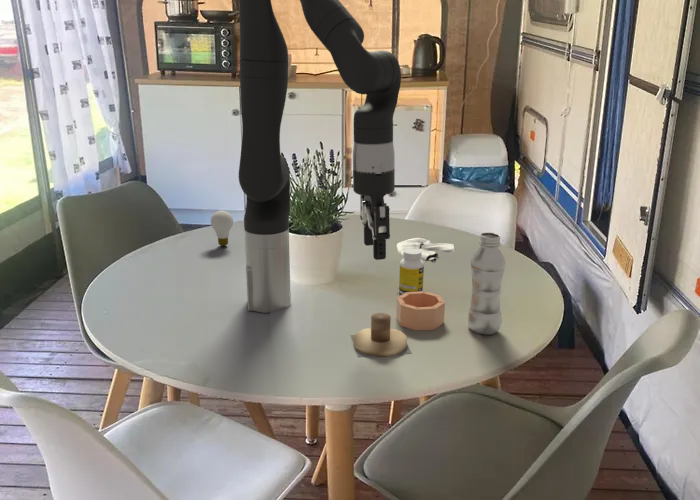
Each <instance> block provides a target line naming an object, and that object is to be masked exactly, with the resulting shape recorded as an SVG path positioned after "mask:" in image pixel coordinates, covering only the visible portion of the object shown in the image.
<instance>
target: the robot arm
mask: <svg viewBox="0 0 700 500" xmlns="http://www.w3.org/2000/svg"><path fill="white" fill-rule="evenodd" d="M299 2H300V5H301V9H302V12H303V16H304V18H305V22H306V23H307V25H308V27H309V29H310V30H311V32H312V33H313V34H314V35H315V36H316V38H317V39H318V40H319V41H320V43H321V44H322V45H323V46H324V47H325V49H326V50H327V51H328V53H330V56H331V57H332V61H333V63H334V65H335V67H336V68H337V71H338V73H339V75H340V77H341V80H342V81H343V82H344V84H345V85H346V86H347V87H348V88H349V89H350V90H351V91H353V92H354V93H356V94H359V95H366V96H365V100H364V101H365V102H364V104H363V105H362V106H361V107H359V108H358V109H357V110H356V111H355V112H354V115H353V149H352V179H353V180H352V186H353V192H354V193H355V194H357V195H360V196H359V197H360V199H359V200H360V208H359V209H360V215H359V216H360V217H359V218H360V220H361V223H362V224H361V225H362V226H363V243H364V245H365V246H372V253H373V254H372V255H373V259H374V260H375V261H377V260H378V261H379V260H386V258H387V245H386V244H387V240H389V239H390V237H391V233H390V231H391V230H390V207H389V205H387V202H385V199H384V198H385V196H387V195H391V194H392V193H394V191H395V188H396V187H395V182H396V181H395V175H396V174H395V172H396V171H395V170H396V169H395V165H396V163H395V159H396V157H395V147H394V113H395V110H396V107H397V103H398V98H399V94H400V91H401V90H400V89H401V83H402V71H401V66H400V63H399V61H398V58H397V57H396V56H395V54H393V53H392V52H390V51H389V50H388V51H387V50H373V51H368V50H367V49H366V48H365V47H364V46H363V42H364V39H365V33H364V30H363V28H362V26H361V25H360V23H359V22H358V21H357V20H356V18H355V17H353V15H352V14H351V13H350V11H348V9H347V8H346V7H345V5H344V4H343V3H342V2H341V1H340V0H299ZM238 11H239V13H238V14H239V19H238V20H239V87H240V91H239V92H240V110H241V112H240V113H241V123H242V124H241V125H242V126H241V127H242V129H241V130H242V132H241V133H242V134H241V136H242V137H241V149H240V157H239V166H238V183H239V187H240V188H241V190H242V192H243V194H244V195H245V197H246V204H245V212H244V216H243V227H244V230H243V231H244V246H245V250H244V251H245V272H246V273H245V274H246V276H245V277H246V294H247V295H246V296H247V299H246V300H247V311H248V312H250V311H251V312H252V311H254V312H256V313H257V312H258V313H265V314H266V313H271V312H275V311H279V310H280V311H281V310H282V309H283V310H284V309H286V308H290V306H291V304H292V303H291V302H292V301H291V299H292V298H291V296H292V295H291V294H292V293H291V261H290V260H291V259H290V258H291V257H290V254H291V253H290V224H289V223H290V213H291V176H290V174H291V173H290V167H289V164H288V162H287V160H286V158H285V157H284V156H283V155H282V154H281V144H280V143H281V141H280V139H281V136H280V135H281V127H282V120H283V116H284V115H283V114H284V110H285V105H286V99H287V93H288V83H289V50H288V46H287V43H286V42H287V41H286V39H285V37H284V34H283V32H282V29H281V27H280V24H279V23H278V20H277V18H276V16H275V13H274V9H273V5H272V0H238ZM379 229H381V230H382V232H379V231H380V230H379Z"/></svg>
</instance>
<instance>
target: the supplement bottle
mask: <svg viewBox="0 0 700 500" xmlns="http://www.w3.org/2000/svg"><path fill="white" fill-rule="evenodd" d="M402 257H403V258H402V259H401V260H400V262H399V278H398V279H399V280H398V281H399V282H398V283H399V284H398V291H399V293H400V294H401V295H403V294H404V293H406V292H420V291H423V290H424V274H425V273H424V271H425V270H424V269H425V262H424V260H423V259H420V258H421V251H420V250H418V249H406V250H404V254H403V255H402Z"/></svg>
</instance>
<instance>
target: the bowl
mask: <svg viewBox="0 0 700 500" xmlns="http://www.w3.org/2000/svg"><path fill="white" fill-rule="evenodd" d="M445 305H446V302H445V300H444V299H443V297H442V296H441V295H440V294H436V293H433V292H428V291H420V292H406V293H404V294H401V295H400V296H397V297H396V313H395V314H396V320H397V322H398V324H399V326H400V327H404V328H407V329H410V330H413V331H428V330H429V331H430V330H435V329H438V328H439V327H440V326H441V325H443V324H444V323H445V310H446V309H445V308H446V306H445Z"/></svg>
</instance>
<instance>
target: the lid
mask: <svg viewBox="0 0 700 500" xmlns="http://www.w3.org/2000/svg"><path fill="white" fill-rule="evenodd" d="M370 316H371V317H370V327H366V328H363V329H360V330H359V331H357V332H356V333H355V334H354V335H355V336H354V344H353V347H354V346H355V347H354V349H355V348H356V349H357V350H358V351H360V352H362V353H364V354H367V355H372V356H371V357H391V356H392V357H393V356H396V354H398V355H400V354H399V353H401V352H403V351H404V350H405V349H406V347H407V345H408V337H407V335H406V334H405V333H404V332H403V331H400V330H398V329H395V328H391V323H392V322H391V320H392V319H391V314H388V313H385V312H376V313H372V314H371V315H370Z"/></svg>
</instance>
